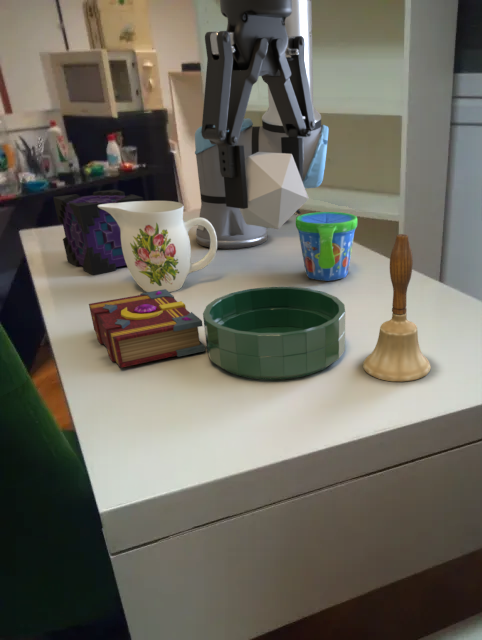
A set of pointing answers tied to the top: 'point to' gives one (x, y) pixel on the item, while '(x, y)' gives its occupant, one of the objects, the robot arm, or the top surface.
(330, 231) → the snack cup
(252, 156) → the die
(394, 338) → the hand bell
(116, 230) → the energy cube
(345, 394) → the top surface
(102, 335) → the decorative book
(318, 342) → the bowl
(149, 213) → the pitcher
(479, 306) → the top surface
